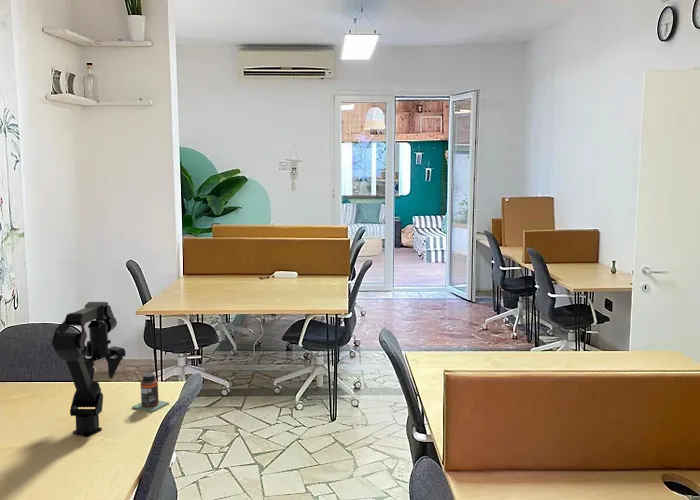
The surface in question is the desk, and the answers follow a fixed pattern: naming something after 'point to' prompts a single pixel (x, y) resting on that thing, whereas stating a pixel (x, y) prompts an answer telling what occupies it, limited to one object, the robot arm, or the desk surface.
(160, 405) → the mat
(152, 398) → the supplement bottle
